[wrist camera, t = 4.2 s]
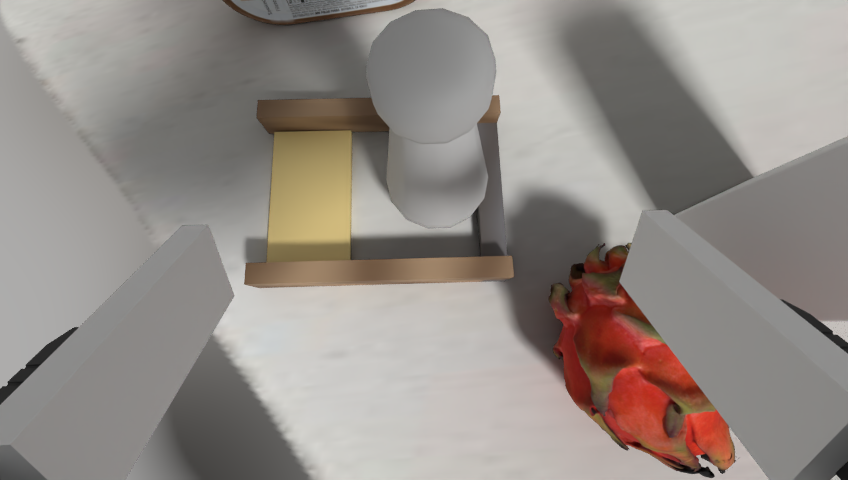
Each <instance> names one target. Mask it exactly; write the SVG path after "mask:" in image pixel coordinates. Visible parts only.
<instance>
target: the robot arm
mask: <svg viewBox="0 0 848 480" xmlns="http://www.w3.org/2000/svg"><path fill="white" fill-rule="evenodd" d="M619 282H620V283H621V285H622V286H623V287H624V289H625V290H626V291H627V293H628V294H629V295H630V297H631V298H632V299H633V301H634V302H635V303H636V305H637V306H638V307H639V308H640V310H641V311H642V312H643V314H644V315H645V316H646V318H647V319H648V320H649V322H650V323H651V324H652V326H653V327H654V328H655V330H656V331H657V332H658V333H659V335H660V336H661V337H662V339H663V340H664V341H665V343H666V344H667V345H668V347H669V348H670V349H671V351H672V352H673V353H674V355H675V356H676V357H677V358H678V360H679V361H680V362H681V364H682V365H683V366H684V368H685V369H686V370H687V372H688V373H689V374H690V376H691V377H692V378H693V380H694V381H695V382H696V384H697V385H698V386H699V387H700V389H701V390H702V391H703V393H704V394H705V395H706V397H707V398H708V399H709V401H710V402H711V403H712V405H713V406H714V407H715V409H716V410H717V411H718V412H719V414H720V415H721V416H722V418H723V419H724V420H725V422H726V423H727V424H728V426H729V427H730V428H731V430H732V431H733V432H734V434H735V435H736V436H737V437H738V439H739V440H740V441H741V443H742V444H743V445H744V447H745V448H746V449H747V451H748V452H749V453H750V455H751V456H752V457H753V459H754V460H755V461H756V462H757V464H758V465H759V466H760V468H761V469H762V470H763V472H764V473H765V474H766V476H767V477H768V478H769V480H830V479H831V478H833V477H834V476H835V475H837V476H838V477H839V478H840V479H841V480H848V343H847V342H846V341H845V340H843V339H842V338H841V337H839V336H838V335H833V333H832V332H833V331H832V330H830V329H829V328H828V327H826V326H825V325H824V324H823V323H821V322H820V321H819V320H817V319H816V318H815V317H814V316H812V315H811V314H809V313H808V312H806V311H804V310H802V309H800V308H798V307H796V306H794V305H792V304H790V303H789V302H787V301H785V300H783V299H778V298H777V297H776V296H775V295H773V294H772V293H771V292H770V291H768V290H767V289H766V288H765V287H763V286H762V285H761V284H760V283H758V282H757V281H756V280H754V279H753V278H752V277H751V276H749V275H748V274H747V273H746V272H744V271H743V270H742V269H741V268H739V267H738V266H737V265H736V264H734V263H733V262H732V261H731V260H729V259H728V258H727V257H726V256H724V255H723V254H722V253H721V252H719V251H718V250H717V249H716V248H714V247H713V246H712V245H711V244H709V243H708V242H707V241H706V240H704V239H703V238H702V237H700V236H699V235H698V234H697V233H695V232H694V231H693V230H692V229H690V228H689V227H688V226H687V225H685V224H684V223H683V222H682V221H680V220H679V219H678V218H677V217H675V216H674V215H673V214H672V213H670V212H669V211H668V210H648V211H642V213H641V216H640V219H639V223H638V226H637V229H636V232H635V235H634V238H633V241H632V244H631V247H630V250H629V253H628V256H627V259H626V262H625V265H624V269H623V272H622V275H621V278H620V281H619ZM233 297H234V293H233V291H232V288H231V285H230V282H229V280H228V277H227V274H226V272H225V269H224V266H223V263H222V261H221V258H220V255H219V252H218V250H217V247H216V244H215V242H214V239H213V236H212V233H211V231H210V228H209V225H183V226H181V227H180V228H179V229H178V230H177V231H176V232H175V233H174V234H173V235H172V236H171V237H170V238H169V239H168V240H167V241H166V242H165V243H164V244H163V245H162V246H161V247H160V248H159V249H158V250H157V251H156V252H155V253H154V254H153V255H152V256H151V257H150V258H149V259H148V260H147V261H146V262H145V263H144V264H143V265H142V266H141V267H140V268H139V269H138V270H137V271H136V272H135V273H134V274H133V275H132V276H131V277H130V278H129V279H127V280H126V281H125V282H124V283H123V284H122V285H121V286H120V287H119V288H118V289H117V290H116V291H115V292H114V293H113V294H112V295H111V296H110V297H109V298H108V299H107V300H106V301H105V302H104V303H103V304H102V305H101V306H100V307H99V308H98V309H97V310H96V311H95V312H94V313H93V314H92V315H91V316H90V317H89V318H88V319H87V320H86V321H85V322H84V323H83V324H82V325H81V326H80V327H74V328H72V329H71V330H69V331H68V332H66V333H65V334H63V335H61V336H60V337H58V338H57V339H55V340H54V341H52V342H51V343H49V344H47V345H46V346H45V347H44V348H43V349H42V350H41V351H40V352H39V353H38V354H37V355H36V356H35V357H33V358H32V360H30V361H29V362H28V363H27V364H26V368H25V369H21V370H20V371H19V372H18V373H17V374H16V375H14V376H13V377H12V378H11V379H10V380H9V381H8V385H7V386H3V387H2V388H1V389H0V480H126V478H127V476H128V474H129V473H130V471H131V469H132V468H133V466H134V464H135V463H136V461H137V459H138V458H139V456H140V454H141V452H142V451H143V449H144V447H145V446H146V444H147V442H148V441H149V439H150V437H151V436H152V434H153V432H154V431H155V429H156V427H157V425H158V424H159V422H160V420H161V419H162V417H163V415H164V414H165V412H166V410H167V409H168V407H169V405H170V404H171V402H172V400H173V399H174V397H175V395H176V394H177V392H178V390H179V388H180V387H181V385H182V383H183V382H184V380H185V378H186V377H187V375H188V373H189V372H190V370H191V368H192V366H193V365H194V363H195V361H196V360H197V358H198V356H199V355H200V353H201V351H202V350H203V348H204V346H205V345H206V343H207V341H208V339H209V338H210V336H211V334H212V333H213V331H214V329H215V328H216V326H217V324H218V323H219V321H220V319H221V318H222V316H223V314H224V312H225V311H226V309H227V307H228V306H229V304H230V302H231V301H232V299H233Z"/></svg>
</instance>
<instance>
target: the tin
mask: <svg viewBox="0 0 848 480" xmlns="http://www.w3.org/2000/svg"><path fill="white" fill-rule="evenodd" d="M223 1H224V2H225V3H226V4H227V5H228V6H230V7H231V8H232V9H234V10H235V11H237V12H239V13H240V14H242V15H245V16H247V17H249V18H252V19H254V20H257V21H261V22H265V23H271V24H279V25H287V24H297V23H304V22H311V21H318V20H326V19H333V18H340V17H347V16H354V15H361V14H368V13H375V12H382V11H389V10H393V9H398V8H401V7H403V6H406V5H408V4H410V3H412V2H414V1H415V0H223Z"/></svg>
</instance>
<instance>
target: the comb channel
mask: <svg viewBox="0 0 848 480" xmlns="http://www.w3.org/2000/svg"><path fill="white" fill-rule="evenodd" d="M500 113H501V112H500V100H499V95H493V96H492V99H491V102H490V106H489V109H488V110H487V111H486V113H485V114H484V115H483V116H482V118H481V119H480V120H479V121H478V122H477V127H478V131H479V136H480V141H481V145H482V150H483V155H484V160H485V164H486V169H487V174H488V181H487V186H486V192H485V197H484V199H483V201H482V202H481V203H480V205H479V206H478V207H477V217H478V233H479V249H480V257H448V258H411V259H374V260H338V261H301V262H264V263H246V268H245V282H244V284H245V285H249V286H253V287H258V288H272V287H307V286H342V285H377V284H412V283H447V282H482V281H507V280H509V279H511V278H513V277H514V271H513V259H512V256H507V247H506V235H505V222H504V209H503V197H502V184H501V171H500V159H499V146H498V133H497V121H498V118H499V115H500ZM257 119H258V120H259V121H260V123H261V124H262V125H263V126H264V128H265V129H266V130H267V132H268V133H269V134H274V132H296V131H343V130H351V131H352V132H374V131H389V128H390V127H389V126H388V125H387V124H386V123H385V122H384V121H383V119H382V118H381V117H380V116H379V115H378V114H377V111H376V109H375V107H374V105H373V102H372V98H340V99H289V100H258V105H257Z"/></svg>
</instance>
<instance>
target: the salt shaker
mask: <svg viewBox="0 0 848 480" xmlns="http://www.w3.org/2000/svg"><path fill="white" fill-rule="evenodd" d="M366 75H367V82H368V86H369V90H370V94H371V98H372V102H373V105H374V107H375V109H376V111H377V114H378V115H379V116H380V117H381V118H382V119H383V121H384V122H385V123H386V124H387V125H388V126H389V127H390V128H389V144H388V160H387V177H386V182H387V186H388V189H389V193H390V197H391V201H392V203H393V204H394V205H395V206H396V207H397V209H398V210H399V211H400V212H401V214H402V215H403V216H404V217H405V218H406V219H407V220H409V221H411V222H414V223H416V224H419V225H421V226H423V227H426V228H450V227H452V226H454V225H456V224H458V223H460V222H462V221H464V220H466V219H468V218H470V216H471V215H472V214H473V212H474V211H475V210H476V208H477V207H478V206H479V205H480V203H481V202H482V201H483V199H484V197H485V192H486V186H487V181H488V174H487V169H486V164H485V160H484V155H483V150H482V145H481V141H480V136H479V131H478V127H477V122H478V121H479V120H480V119H481V118H482V116H483V115H484V114H485V113H486V111H487V110H488V109H489V106H490V102H491V99H492V94H493V88H494V82H495V77H496V62H495V57H494V53H493V50H492V47H491V44H490V41H489V38H488V35H487V34H486V33H485V32H484V31H483V30H482V29H480V28H479V27H478V26H477V25H476V24H475V23H474V22H473V21H472V20H471V19H470V18H469V17H466V16H463V15H460V14H457V13H454V12H451V11H449V10H446V9H443V8H442V9H428V10H415V11H413V12H411V13H409V14H407V15H404V16H402V17H400V18H398V19H396V20H394V21H391V22H390V23H389V24H388V25H387V26H386V27H385V29H384V30H383V31H382V32H381V33H380V34H379V36H378V37H377V38H376V39H375V40H374V41H373V44H372V47H371V51H370V54H369V58H368V61H367V65H366Z"/></svg>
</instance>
